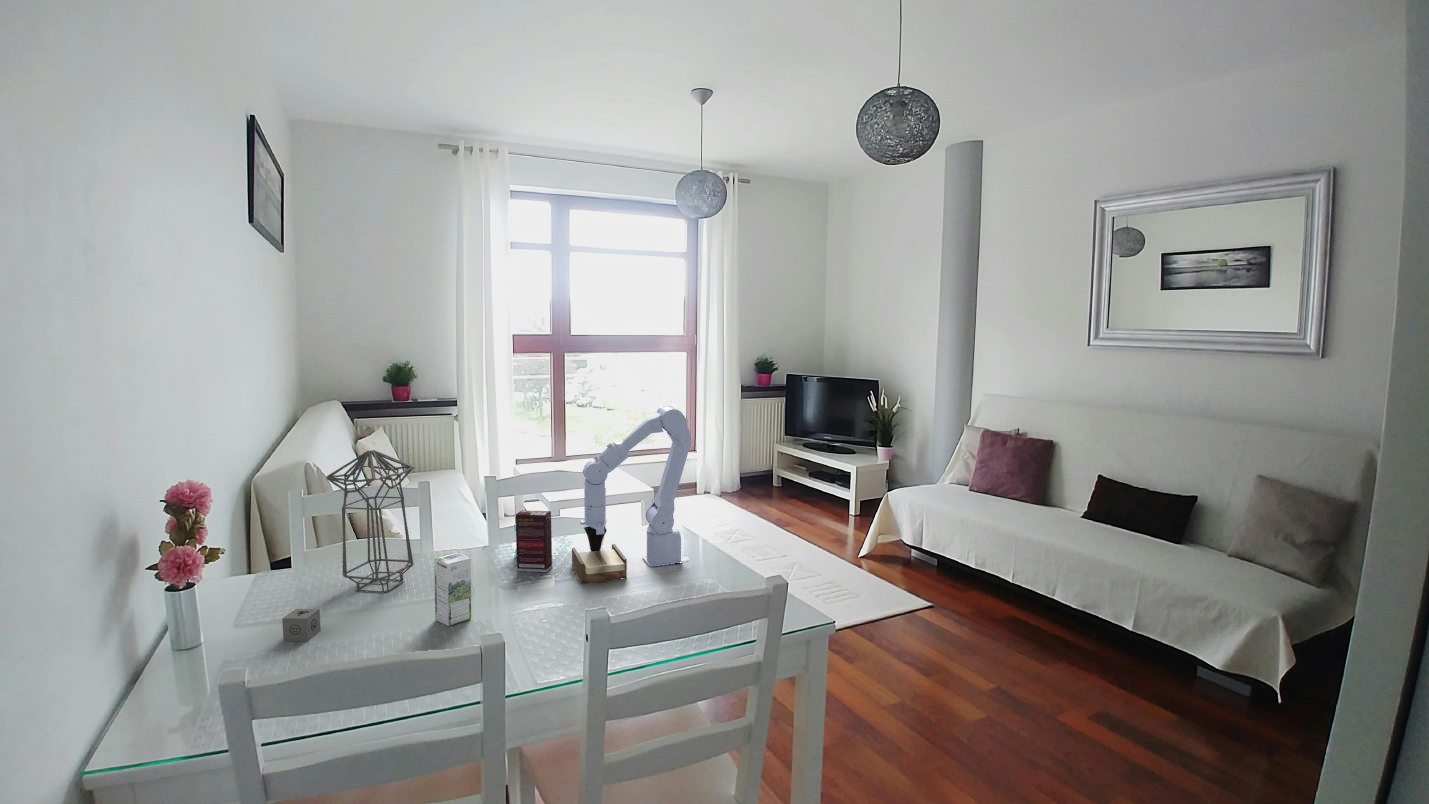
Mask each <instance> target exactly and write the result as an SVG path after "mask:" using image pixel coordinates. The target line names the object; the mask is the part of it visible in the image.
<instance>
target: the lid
mask: <svg viewBox="0 0 1429 804" xmlns="http://www.w3.org/2000/svg"><path fill="white" fill-rule="evenodd" d="M578 554H579V556H580V558H581V559H582V561H583V563H584V570H585V572H586V574H594V573H603V572H612V571H621V570H625V564H624V563H623V561H622V560H621V559H620V557H619V556H618V555H617V553H616V552H615V551H614V549H612V548H611V549H602V550H601V549H600V551H591V550H590V551H583V552H578Z"/></svg>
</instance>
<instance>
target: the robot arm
mask: <svg viewBox="0 0 1429 804" xmlns="http://www.w3.org/2000/svg"><path fill="white" fill-rule="evenodd" d="M664 431H665V432H666V433H667V435H668V436H669V439H670V440H671V446H670V449H669V453H668V456H667V460H666V463H665V467H664V470H663V473H662V477H661V480H660V483H659V487H658V491H657V494H656V495H655V496H654V498H653V500H652V503H651V504H650V506H649V507H648V508H647V509H646V513H645V520H646V521H647V522H648V523H649V525H648V526H647V528H646V556H642V560H643V561H644V562H645V563H646V565H648V567H651V568H652V567H661V565H662V566H669V564H671V565H676V564H675V563H680V562H683V561H682V538H681V537H682V536H681V532H680V531H679V530H678V529H677V528H676V529H674V528H673V527H674V524H675V518H674V513H675V499H676V495H677V492H678V488H679V485H680V482H681V478H682V475H683V472H684V467H685V464H686V462H687V458H688V454H689V451H690V447H691V444H692V437H691V433H690V428H689V425H688V419H687V418H686V416H685V415H684V413H683V412H682V411H680V410H679V409H677V408H674V407H672V406H670V405H663V406H661V407H659V408H658V409H657V410H656V411H654V412H652V413H651V414H650V415H649V416H648V417H646V418H645V419H644V421H642V422H641V423H640V424H639V425H638V426H637V427H635V428H634V430H632V432H630V433H629V434H628V435H627V436H626V437H625V438H624V439H623V440H622V441H614V442H612V443H611V442H609V443H608V444H607V445H606V448H605V449H604V450H603V451H602V452H601V453H599V454H598V455H594V456H593V457H592V458H593V460H592V459H591V460H589V461H587V462H586V463H585V465H584V467H583V470H582V474H583V476H584V477H585V479H584V489H583V491H584V496H583V497H584V520H583V519H582V520H580V521H579V524H580V525H582V526H583V525H584V526H585V527H583V529H584V531H585V533H586V536H587V539H588V544H589V545H588V546H589V550H590V552H591V551H601V547H602V543H603V539H604V538H605V535H606V533H607V531H608V530H607V528H606V524H607V519H606V513H607V511H606V510H607V509H606V504H607V503H606V502H607V501H606V499H607V498H606V497H607V496H606V494H607V493H606V492H607V491H606V489H607V488H606V480H607V479H608V474H609V473H611V472H612V471H614V470H615V469H617V468H618V467H619V466H620V465H621V464H622V463H623V462H625V461H626V460H627V459H628V458H629V452H630V451H631V450H632V449H633V448H635V446H637V445H638V444H640V443H641V442H643V440H645V439H647V437H649V436H650V435H651V434H657V433H664ZM680 564H681V563H680Z"/></svg>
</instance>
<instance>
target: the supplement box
mask: <svg viewBox="0 0 1429 804" xmlns="http://www.w3.org/2000/svg"><path fill="white" fill-rule="evenodd" d="M515 525H516V531H515V538H516V539H515V541H516V542H515V543H516V544H515V545H516V547H515V549H516V548H517V556H516V571H517V572H525V573H527V572H528V573H529V572H530V573H532V572H533V573H548V571H550V570H551V569H552V568H553V550H552V548H553V546H552V543H553V541H552V537H553V536H552V511H551V510H550V511H549V510H523V509H522V510H520V511H519V512H516V513H515Z"/></svg>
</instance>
